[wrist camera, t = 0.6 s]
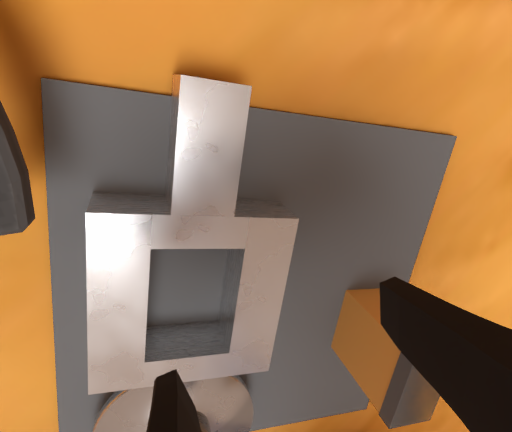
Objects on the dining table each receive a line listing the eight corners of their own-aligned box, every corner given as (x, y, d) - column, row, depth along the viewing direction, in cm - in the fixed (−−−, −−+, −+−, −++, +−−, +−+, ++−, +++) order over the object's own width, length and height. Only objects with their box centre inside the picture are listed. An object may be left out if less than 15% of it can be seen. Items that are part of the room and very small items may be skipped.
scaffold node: (234, 443, 27) (254, 514, 23) (94, 471, 24) (85, 560, 20) (296, 94, 19) (346, 101, 14) (92, 61, 15) (75, 56, 11)
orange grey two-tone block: (364, 343, 28) (429, 420, 22) (330, 347, 27) (389, 428, 21) (381, 287, 26) (457, 353, 20) (345, 289, 25) (414, 359, 19)
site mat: (363, 405, 32) (366, 408, 31) (62, 461, 23) (60, 467, 23) (452, 135, 24) (456, 136, 23) (43, 77, 15) (41, 77, 15)
